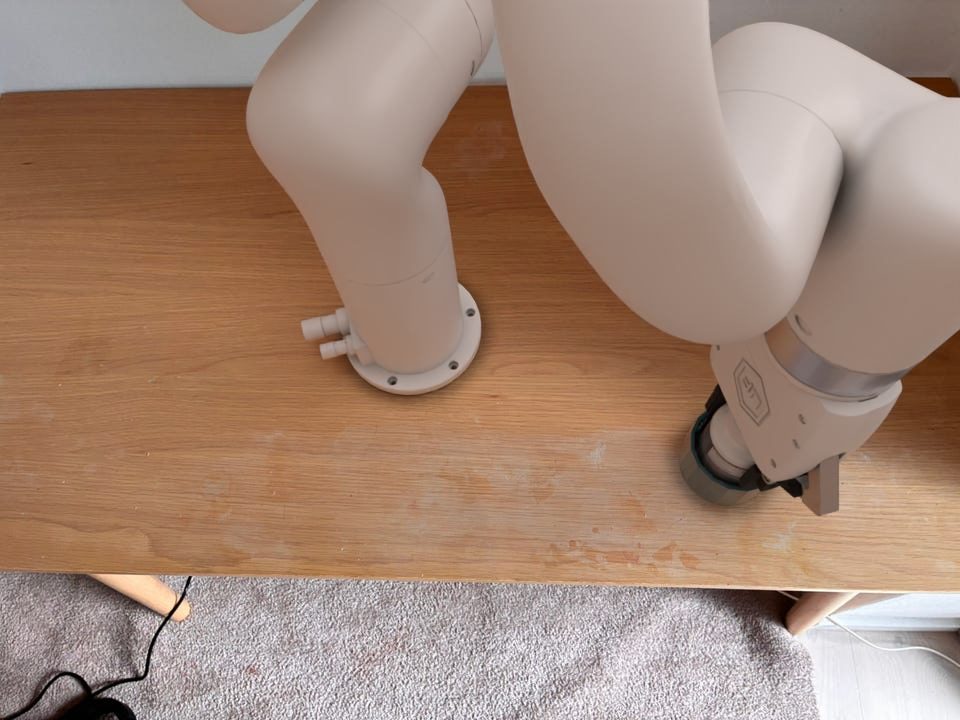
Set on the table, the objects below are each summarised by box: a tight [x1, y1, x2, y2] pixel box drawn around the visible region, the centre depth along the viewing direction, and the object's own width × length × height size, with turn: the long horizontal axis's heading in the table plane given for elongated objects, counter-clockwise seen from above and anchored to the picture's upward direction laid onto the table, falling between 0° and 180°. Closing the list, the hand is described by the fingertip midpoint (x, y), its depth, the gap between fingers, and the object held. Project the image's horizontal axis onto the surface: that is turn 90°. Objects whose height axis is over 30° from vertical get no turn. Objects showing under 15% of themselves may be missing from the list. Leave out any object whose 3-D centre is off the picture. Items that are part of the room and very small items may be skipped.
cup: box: [678, 409, 761, 507], centre depth 54 cm, size 7×7×4 cm
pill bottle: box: [695, 403, 756, 487], centre depth 52 cm, size 5×5×10 cm
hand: (741, 440), depth 51 cm, fingers closed on pill bottle, 5 cm apart
